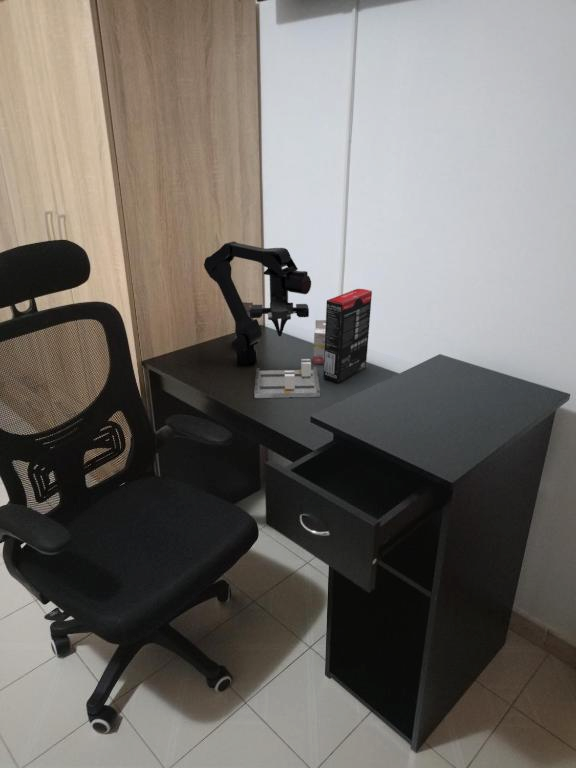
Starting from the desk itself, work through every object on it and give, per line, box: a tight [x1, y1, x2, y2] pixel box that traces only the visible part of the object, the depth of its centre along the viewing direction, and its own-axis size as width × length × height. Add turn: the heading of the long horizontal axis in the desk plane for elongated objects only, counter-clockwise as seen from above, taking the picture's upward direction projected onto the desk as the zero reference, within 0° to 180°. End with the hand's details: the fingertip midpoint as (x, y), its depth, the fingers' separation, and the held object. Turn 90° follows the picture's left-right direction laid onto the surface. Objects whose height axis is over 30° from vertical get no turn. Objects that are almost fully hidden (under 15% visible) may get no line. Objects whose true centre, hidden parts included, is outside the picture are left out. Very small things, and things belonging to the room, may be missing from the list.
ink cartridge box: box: [313, 319, 326, 365], centre depth 189 cm, size 9×5×15 cm, turn 84°
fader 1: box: [284, 371, 295, 389], centre depth 169 cm, size 3×4×5 cm
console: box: [253, 366, 321, 399], centre depth 175 cm, size 20×17×2 cm
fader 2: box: [300, 358, 312, 377], centre depth 177 cm, size 3×4×5 cm
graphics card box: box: [322, 288, 373, 384], centre depth 177 cm, size 17×7×27 cm, turn 141°
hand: (279, 335), depth 179 cm, fingers closed
